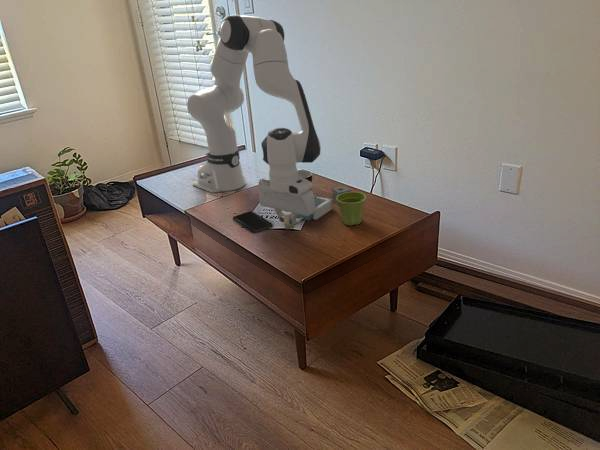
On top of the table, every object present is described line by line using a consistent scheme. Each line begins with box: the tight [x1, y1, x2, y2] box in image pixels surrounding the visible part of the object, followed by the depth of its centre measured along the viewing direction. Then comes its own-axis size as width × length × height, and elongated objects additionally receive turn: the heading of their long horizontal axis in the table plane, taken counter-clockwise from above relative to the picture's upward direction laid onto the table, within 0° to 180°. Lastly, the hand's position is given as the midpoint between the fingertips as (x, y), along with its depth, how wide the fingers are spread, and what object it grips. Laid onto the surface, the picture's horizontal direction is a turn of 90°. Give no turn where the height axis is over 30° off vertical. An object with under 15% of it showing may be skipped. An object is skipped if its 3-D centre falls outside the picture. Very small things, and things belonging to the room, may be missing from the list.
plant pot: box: [336, 191, 367, 226], centre depth 156 cm, size 9×9×9 cm
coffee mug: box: [298, 169, 313, 191], centre depth 177 cm, size 12×9×10 cm
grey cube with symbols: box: [331, 185, 352, 207], centre depth 172 cm, size 5×5×5 cm
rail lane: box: [312, 195, 333, 220], centre depth 167 cm, size 9×10×4 cm
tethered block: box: [283, 194, 317, 230], centre depth 160 cm, size 5×14×7 cm, turn 143°
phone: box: [232, 210, 274, 234], centre depth 163 cm, size 8×1×15 cm
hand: (287, 222), depth 156 cm, fingers closed on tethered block, 3 cm apart
